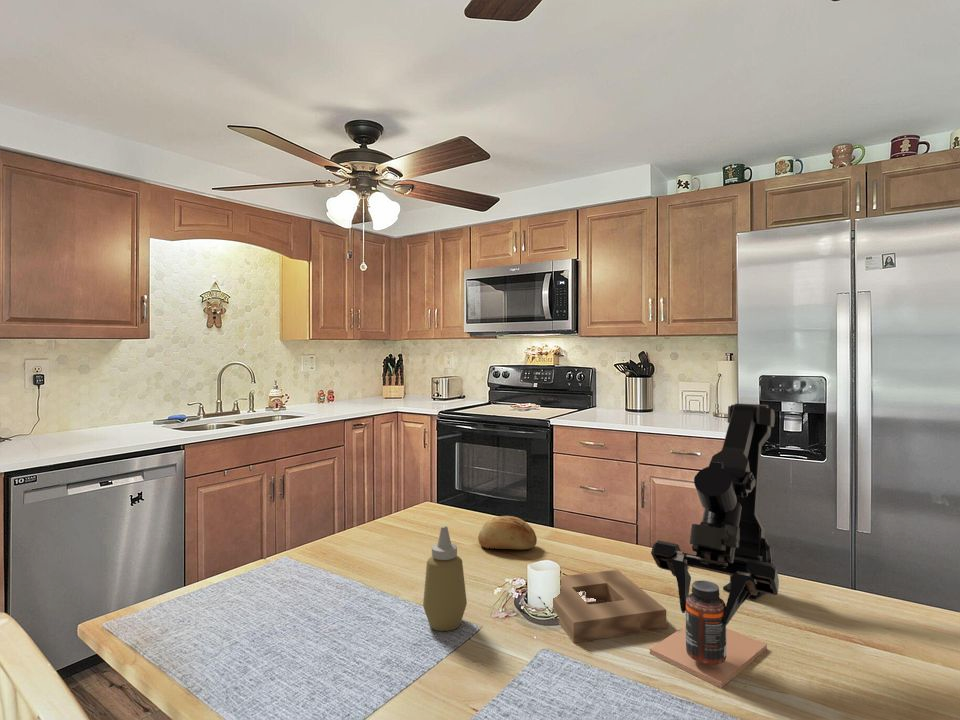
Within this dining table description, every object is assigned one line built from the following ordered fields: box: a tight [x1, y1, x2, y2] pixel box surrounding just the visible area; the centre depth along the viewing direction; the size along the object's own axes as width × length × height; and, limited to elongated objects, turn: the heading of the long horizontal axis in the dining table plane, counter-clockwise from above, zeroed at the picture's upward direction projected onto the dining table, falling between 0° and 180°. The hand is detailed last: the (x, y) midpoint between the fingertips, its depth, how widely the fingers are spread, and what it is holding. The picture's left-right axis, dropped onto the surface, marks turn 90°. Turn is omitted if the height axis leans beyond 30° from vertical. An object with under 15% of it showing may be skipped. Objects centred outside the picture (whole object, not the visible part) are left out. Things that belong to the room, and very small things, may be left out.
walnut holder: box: [553, 569, 667, 644], centre depth 104 cm, size 18×18×4 cm
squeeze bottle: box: [422, 525, 468, 632], centre depth 99 cm, size 8×8×18 cm
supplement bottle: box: [685, 580, 727, 665], centre depth 85 cm, size 6×6×11 cm
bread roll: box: [477, 515, 538, 550], centre depth 137 cm, size 10×15×8 cm, turn 81°
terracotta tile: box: [649, 625, 768, 689], centre depth 90 cm, size 16×12×1 cm
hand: (703, 617), depth 84 cm, fingers closed on supplement bottle, 6 cm apart
